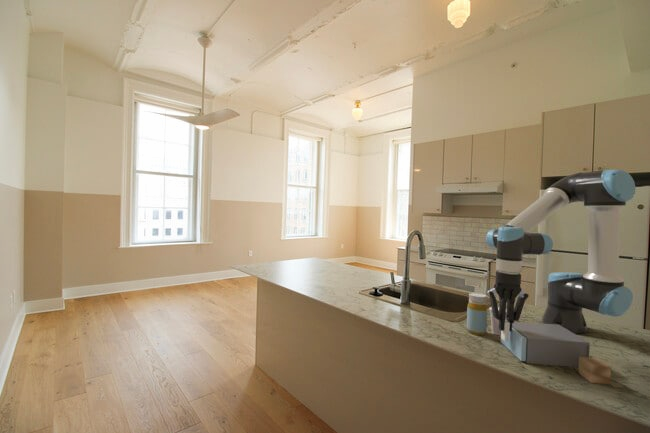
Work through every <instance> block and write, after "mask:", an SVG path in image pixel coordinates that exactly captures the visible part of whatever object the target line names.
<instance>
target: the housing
mask: <svg viewBox="0 0 650 433" xmlns="http://www.w3.org/2000/svg"><path fill="white" fill-rule="evenodd" d="M512 327H513V328H514V329H515V330H516V331H518V332H519V333H520V334H522V335H523V336H524V337H525V338H527V343H526V361H524V362H525V363H526V364H534V365H546V366H547V365H548V366H559V367H560V366H561V367H573V368H579V357H588V358H590V344H591V343H590V341H589V340H588V341H587V340H586V339H584V338H583V337H580V336H579V335H577V333H572V332H571V331H569V330H567V329H566V328H564V327H562V326H560V325H558V324H543V323H542V322H541V323H540V322H527V321H526V322H522V321H514V323H512Z"/></svg>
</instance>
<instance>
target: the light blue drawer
mask: <svg viewBox="0 0 650 433" xmlns="http://www.w3.org/2000/svg"><path fill="white" fill-rule="evenodd" d="M500 342H501V343H502V345H503V346H504V347H505V348H507V350H509V351H510V352H511V353H512V354H513V355H514V356H515V357H516V358H517V359H518V360H520V361H521V362H525V361H526V343H527V338H525V337H524V336H523V335H522V334H520V333H519V332H518V331H516V330H515V329H514V328H513V327H512V331H509V342H508V341H504V340H503V339H502V338H501V337H500Z"/></svg>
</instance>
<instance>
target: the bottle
mask: <svg viewBox="0 0 650 433" xmlns="http://www.w3.org/2000/svg"><path fill="white" fill-rule="evenodd" d="M466 308H467V310H466V330H467V332H469V333H470V334H472V335H475V336H484V335H485V334H487V323H488V322H487V321H488V306H487V295H486V294H484V293H480V292H469V294H468V303H467V307H466Z"/></svg>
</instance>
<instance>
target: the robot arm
mask: <svg viewBox="0 0 650 433" xmlns="http://www.w3.org/2000/svg"><path fill="white" fill-rule="evenodd" d="M635 184H636V183H635V181H634V179H633V177H632V176H631V175H630V173H629V172H628V171H626V170H624V169H604V170H595V171H594V170H593V171H587V172H585V171H584V172H576V173H573V174H569V175H567V176H565V177H563V178H561V179H559V180H557V181H556V182H554V183H553V184H552V185H550V186H549V187H548V188H546V189H545V191H543V195H541V196H539V198H538V199H537V200H535V201H534V202H533V203H531V204H530V205H529V206H528V207H526V208H525V209H524V210H523V211H521V212H519V214H518V215H515V217H514V218H513V219H511V220H510V221H508V222H507V223H506V224H505V225H504V226H500V227H499V228H496V229H490V230H489V231H487V234H486V236H485V242H486V244H487V245H488V246H489V247H490V248H492V249H496V258H495V259H496V260H495V261H496V263H495V264H496V265H495V269H496V271H495V278H494V279H495V281H494V285H493V288H491V289H487V290H486V293H487V295H488V297H489V301H490V307H492V312H493V316H494V317H495V318H496V319H498V320H499V329H500V330H501V335H500V339H501V338H502V339H503V340H504V341H508V342H509V331H512V323H514V322H519V321H520V317H521V314H522V312H523V308H524V305H525V302H526V301H527V299H528V298H529V294H528V293H526V292H524V291H523V290H522V287H521V284H522V274H521V273H522V271H523V270H522V268H523V267H522V266H523V255H533V256H535V255H538V256H542V255H547V254H549V253H550V252H551V251H552V249H553V247H554V245H553V244H554V243H553V242H554V241H553V239H552V238H551V236H550V235H548V234H546V233H541V232H532V231H533V230H534V229H536V227H538V226H539V225H540V224H542V223H543V222H544V221H545V220H546V219H547V218H549V217H550V216H551V215H553V214H554V213H555V212H556V211H557V210H559V209H560V208H561V209H562V208H565V207H567V206H568V205H569V204H572V203H578V202H581V203H583V207H584V208H585V209H587V210H588V238H587V239H588V242H587V243H588V245H587V247H588V250H587V255H588V256H587V272H586V273H584V274H583V273H582V272H581V273H578V272H567V271H566V272H563V271H560V272H559V271H558V272H556V271H555V272H551V273H550V274H549V275H548V281H547V306H546V308H545V310H544V312H543V314H542V316H541V323H542V324H558V325H560V326H562V327H564V328H566V329H567V330H569V331H571V332H572V333H574V334H585V333H588V325H587V322H586V319H585V316H584V314H583V309H585V310H589V311H591V312H592V311H593V312H596V313H598V314H600V315H606V316H610V317H620V316H621V317H622V316H623V315H624V314H626V313H627V312H628V311H629V309H630V308H631V306H632V304H633V299H634V295H633V292H632V290H631V288H629V287H627V286H625V279H623V278H622V277H621V276H620V275H619V271H620V270H619V266H620V264H619V262H620V225H621V224H620V222H621V221H620V220H621V219H620V218H621V217H620V216H621V210H623V209H624V208H625V207H627V203H626V202H628V201H631V200H632V199H633V198H634V196H635V194H636V185H635ZM496 295H498V301H499V303H498V302H497V298H496ZM498 305H499V306H498ZM498 307H499V310H498ZM506 310H507V313H506Z"/></svg>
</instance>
